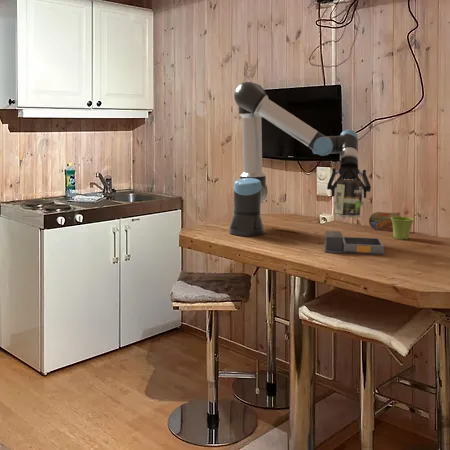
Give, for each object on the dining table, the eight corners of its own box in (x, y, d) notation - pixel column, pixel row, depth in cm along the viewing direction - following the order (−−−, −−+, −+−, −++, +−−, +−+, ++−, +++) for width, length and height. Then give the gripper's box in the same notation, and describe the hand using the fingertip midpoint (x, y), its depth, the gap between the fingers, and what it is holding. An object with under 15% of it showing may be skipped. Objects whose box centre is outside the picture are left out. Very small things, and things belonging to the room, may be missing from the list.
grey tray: (324, 252, 220) (325, 237, 219) (323, 244, 234) (324, 230, 233) (383, 255, 217) (384, 239, 216) (378, 247, 231) (379, 232, 230)
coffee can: (364, 215, 240) (367, 181, 237) (353, 218, 231) (356, 183, 229) (341, 212, 246) (343, 179, 243) (329, 215, 237) (332, 180, 235)
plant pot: (409, 241, 244) (410, 221, 242) (386, 238, 248) (388, 218, 247) (415, 238, 251) (416, 218, 250) (393, 235, 256) (394, 215, 255)
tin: (368, 229, 270) (369, 211, 269) (369, 228, 273) (370, 210, 272) (402, 232, 265) (403, 213, 263) (402, 231, 268) (404, 212, 266)
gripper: (375, 168, 249) (376, 210, 236) (321, 165, 252) (319, 206, 239) (377, 156, 243) (378, 198, 230) (322, 153, 246) (320, 195, 233)
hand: (348, 202), depth 235 cm, fingers closed on coffee can, 10 cm apart
